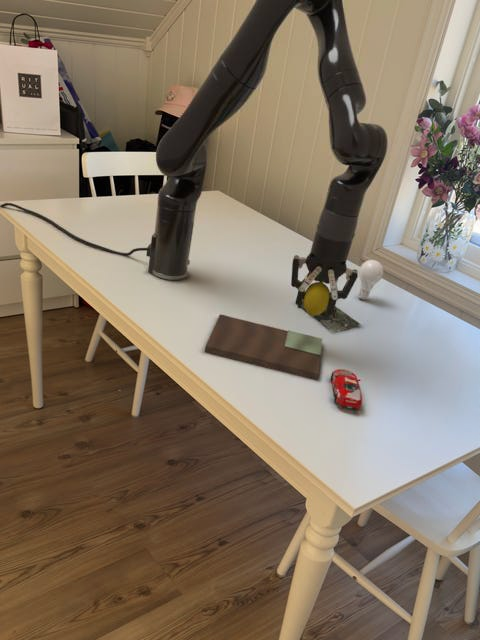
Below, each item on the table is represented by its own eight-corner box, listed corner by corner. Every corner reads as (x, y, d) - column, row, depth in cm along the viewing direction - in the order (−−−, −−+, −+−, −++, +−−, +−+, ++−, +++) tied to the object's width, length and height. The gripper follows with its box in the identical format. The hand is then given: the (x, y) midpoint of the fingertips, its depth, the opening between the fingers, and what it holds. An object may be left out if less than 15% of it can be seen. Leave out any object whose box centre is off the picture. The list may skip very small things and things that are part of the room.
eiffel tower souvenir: (361, 327, 149) (379, 277, 142) (332, 332, 144) (348, 280, 136) (323, 300, 158) (338, 251, 151) (294, 303, 153) (307, 253, 145)
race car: (328, 375, 127) (333, 359, 125) (353, 380, 127) (359, 363, 125) (333, 410, 116) (339, 393, 114) (360, 415, 117) (366, 398, 114)
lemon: (322, 324, 127) (333, 289, 123) (297, 318, 127) (307, 282, 123) (325, 314, 132) (335, 280, 127) (300, 307, 132) (309, 273, 127)
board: (204, 352, 125) (205, 345, 124) (218, 319, 138) (220, 313, 137) (316, 380, 124) (318, 373, 123) (320, 345, 137) (322, 338, 136)
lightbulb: (376, 299, 166) (389, 261, 159) (370, 306, 161) (383, 267, 154) (354, 291, 167) (366, 253, 161) (348, 298, 162) (360, 260, 156)
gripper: (370, 235, 122) (346, 310, 132) (301, 219, 122) (282, 295, 132) (370, 247, 116) (345, 325, 126) (298, 230, 116) (278, 309, 126)
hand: (313, 309), depth 129 cm, fingers closed on lemon, 5 cm apart
